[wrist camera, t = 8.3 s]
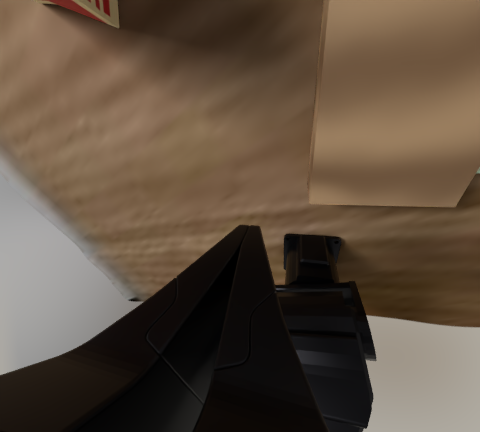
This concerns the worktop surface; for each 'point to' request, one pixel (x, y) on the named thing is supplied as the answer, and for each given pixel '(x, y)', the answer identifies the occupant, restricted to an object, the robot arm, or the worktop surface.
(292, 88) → the worktop surface
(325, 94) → the brown wooden block
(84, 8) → the milk carton
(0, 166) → the worktop surface
